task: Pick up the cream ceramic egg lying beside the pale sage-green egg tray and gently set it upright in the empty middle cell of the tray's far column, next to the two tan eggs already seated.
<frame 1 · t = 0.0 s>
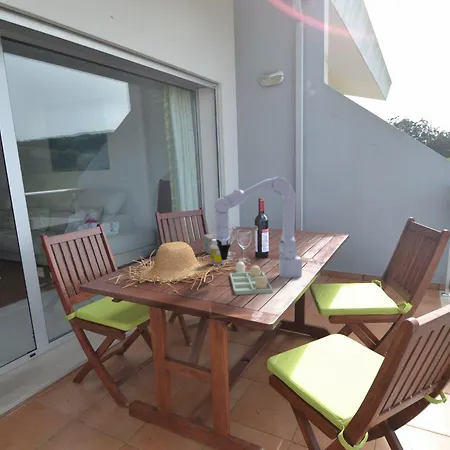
hand: (223, 257, 141), 10 cm above the table, tool pointing down, fingers open, 7 cm apart
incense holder: (213, 252, 190), on the table
cream egg: (240, 273, 151), on the table
egg tray: (249, 285, 135), on the table
supplement bottle: (217, 264, 167), on the table
tan egg b: (261, 289, 128), point 1 cm above the table, touching egg tray
tan egg a: (255, 277, 142), point 1 cm above the table, touching egg tray
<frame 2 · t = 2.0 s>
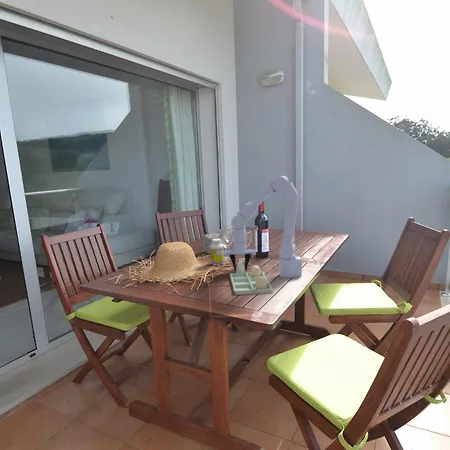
hand: (240, 270, 151), 1 cm above the table, tool pointing down, fingers closed on cream egg, 4 cm apart
cream egg: (240, 273, 151), on the table, touching gripper
everything else where it was.
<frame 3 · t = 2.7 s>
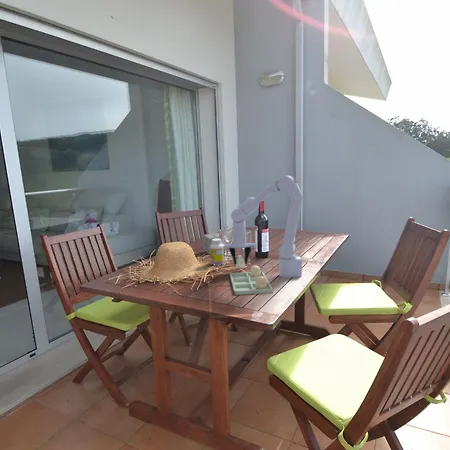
hand: (240, 263, 151), 4 cm above the table, tool pointing down, fingers closed on cream egg, 4 cm apart
cream egg: (240, 266, 151), point 3 cm above the table, touching gripper
everything else where it was.
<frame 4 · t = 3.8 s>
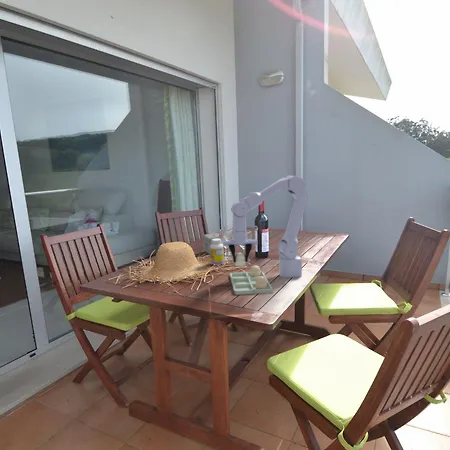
hand: (240, 261, 140), 8 cm above the table, tool pointing down, fingers closed on cream egg, 4 cm apart
cream egg: (240, 264, 140), point 7 cm above the table, touching gripper
everything else where it was.
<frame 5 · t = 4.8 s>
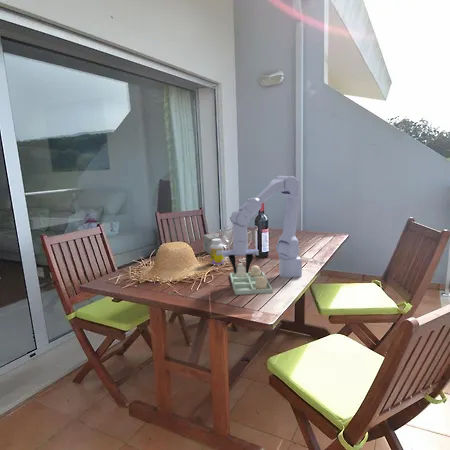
hand: (241, 272, 134), 6 cm above the table, tool pointing down, fingers closed on cream egg, 4 cm apart
cream egg: (241, 275, 134), point 4 cm above the table, touching gripper
everything else where it was.
when the fingers open (3 cm above the table, at t = 5.7 s): cream egg stays where it is, resting on egg tray.
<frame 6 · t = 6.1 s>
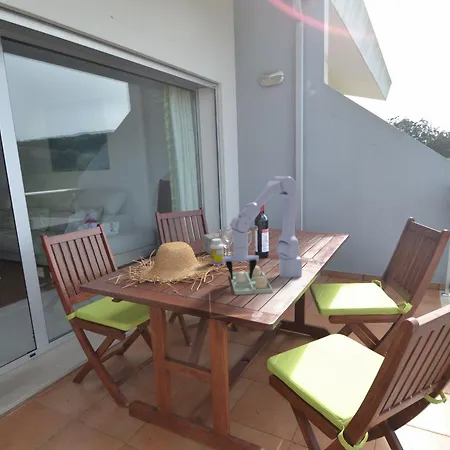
hand: (241, 278, 135), 3 cm above the table, tool pointing down, fingers open, 7 cm apart
cream egg: (241, 284, 135), point 1 cm above the table, touching egg tray
everything else where it was.
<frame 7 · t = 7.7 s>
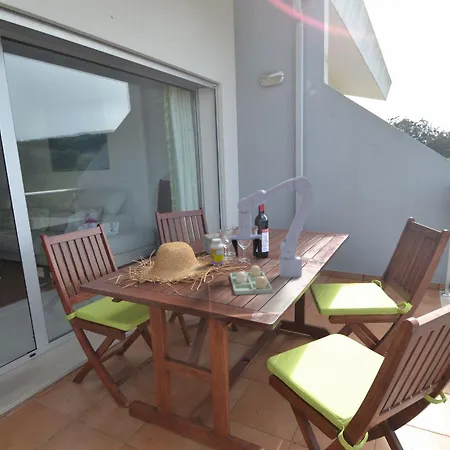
hand: (245, 256, 145), 9 cm above the table, tool pointing down, fingers open, 7 cm apart
nothing on the table moved.
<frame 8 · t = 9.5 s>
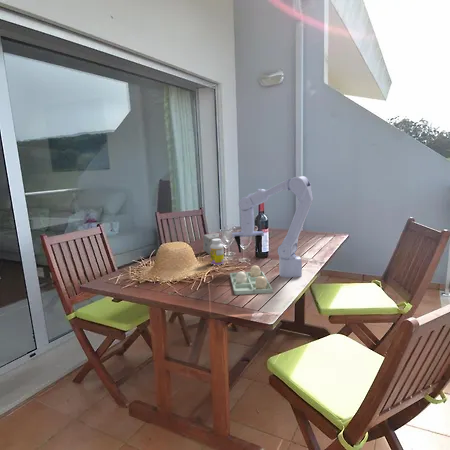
hand: (248, 251, 152), 9 cm above the table, tool pointing down, fingers open, 7 cm apart
nothing on the table moved.
at the end: cream egg 0.0 cm from the target spot on the egg tray, point 0.8 cm above the egg tray's base; cream egg tilted 0°; the gripper is holding nothing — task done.
